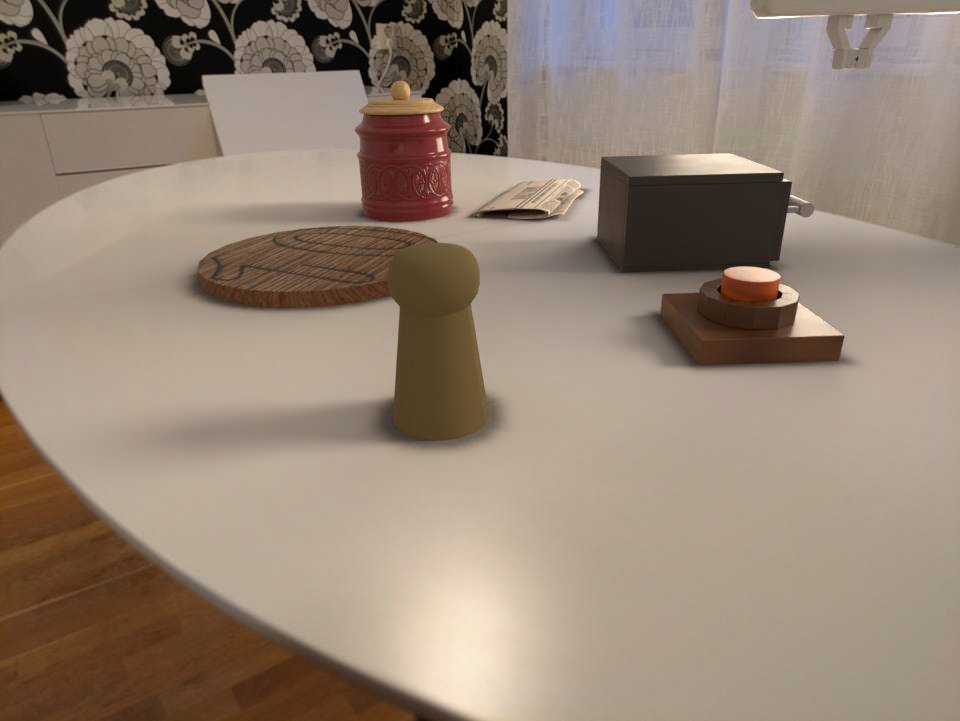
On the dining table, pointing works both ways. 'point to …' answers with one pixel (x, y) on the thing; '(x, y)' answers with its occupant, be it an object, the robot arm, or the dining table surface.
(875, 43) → the robot arm
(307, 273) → the trivet
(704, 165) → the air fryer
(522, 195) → the newspaper
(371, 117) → the kitchen canister
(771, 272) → the button
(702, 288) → the control block
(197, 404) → the dining table surface
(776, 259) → the dark piece
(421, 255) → the olive game pawn
